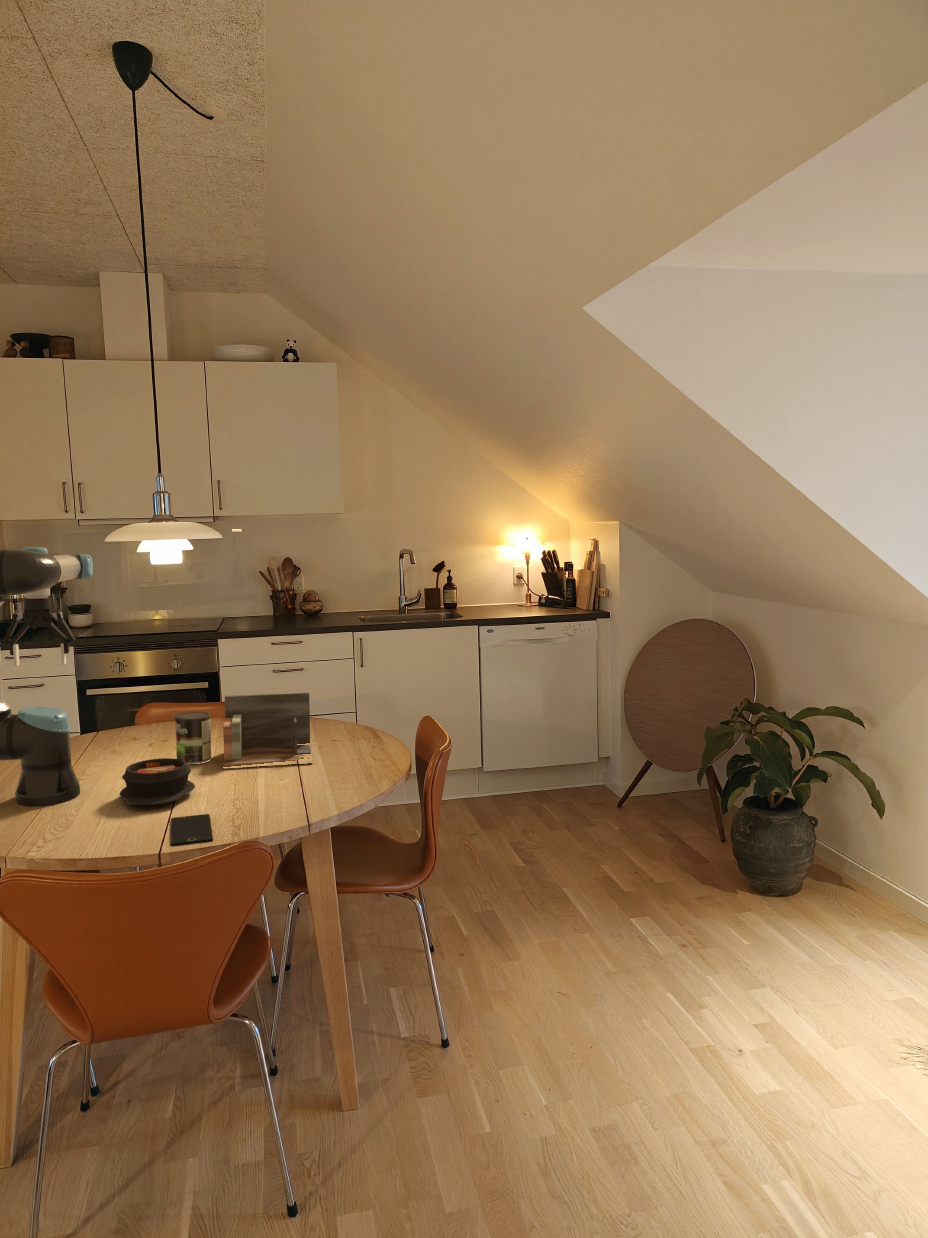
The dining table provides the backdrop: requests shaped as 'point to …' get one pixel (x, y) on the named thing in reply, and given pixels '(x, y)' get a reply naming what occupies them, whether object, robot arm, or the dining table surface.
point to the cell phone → (191, 830)
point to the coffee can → (193, 737)
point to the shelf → (266, 728)
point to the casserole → (156, 781)
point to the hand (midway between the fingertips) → (40, 664)
